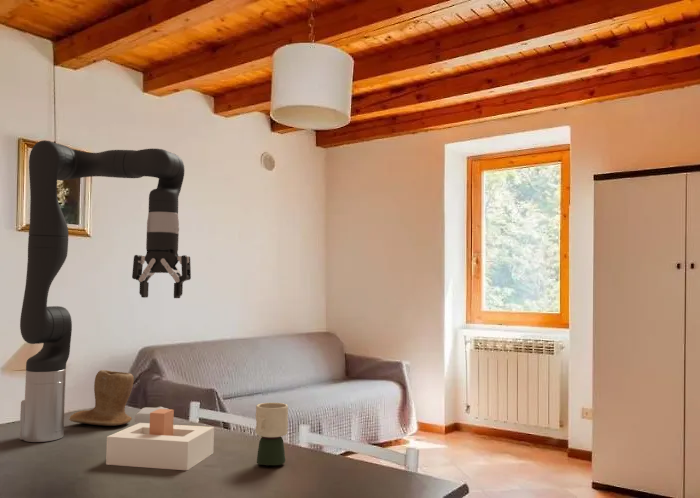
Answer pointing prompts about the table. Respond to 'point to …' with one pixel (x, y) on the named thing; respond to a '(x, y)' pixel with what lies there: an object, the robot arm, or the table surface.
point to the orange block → (161, 422)
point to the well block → (160, 447)
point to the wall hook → (145, 415)
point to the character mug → (271, 432)
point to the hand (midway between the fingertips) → (160, 297)
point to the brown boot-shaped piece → (108, 400)
